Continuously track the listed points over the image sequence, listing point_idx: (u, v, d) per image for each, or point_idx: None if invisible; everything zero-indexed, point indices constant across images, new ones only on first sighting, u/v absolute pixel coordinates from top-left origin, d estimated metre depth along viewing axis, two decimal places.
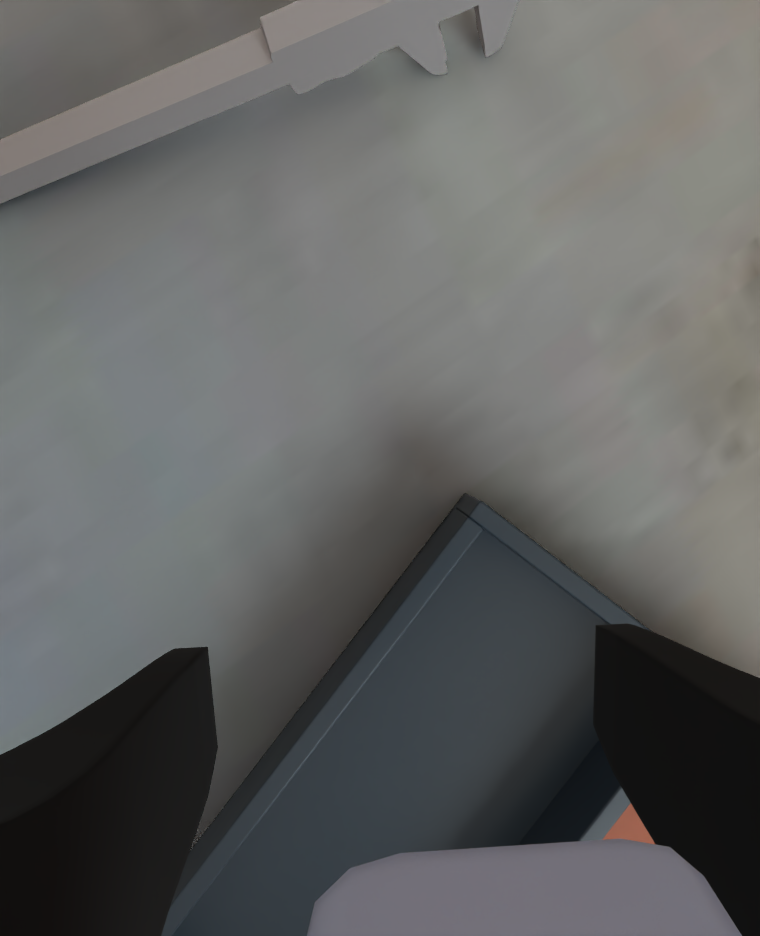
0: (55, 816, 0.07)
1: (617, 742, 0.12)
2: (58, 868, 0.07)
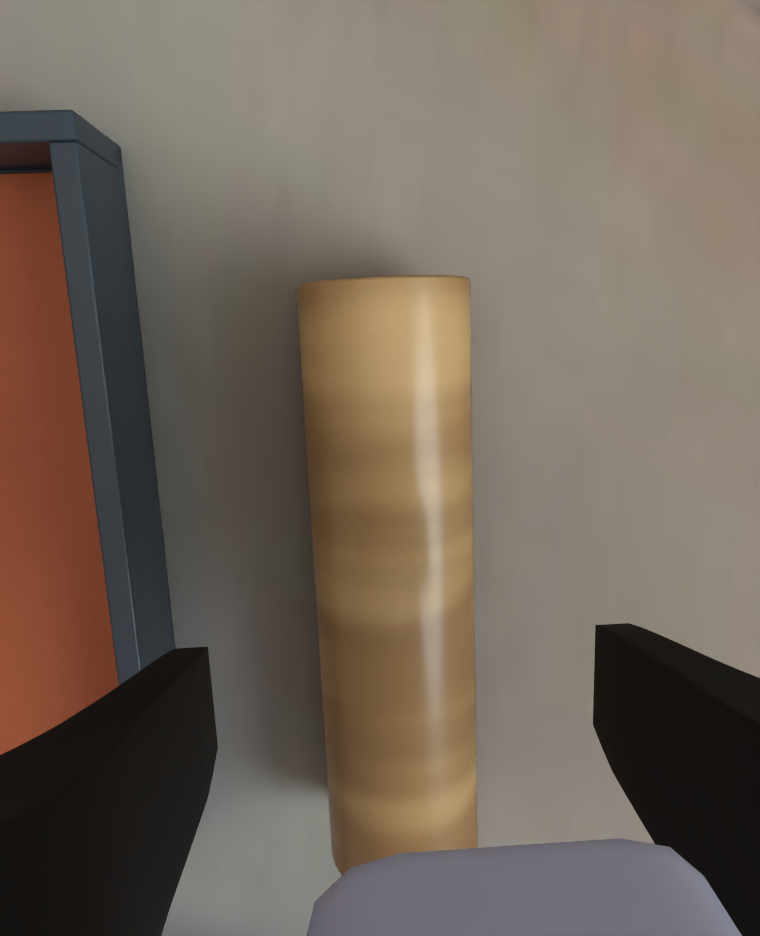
0: (55, 816, 0.07)
1: (617, 742, 0.12)
2: (57, 869, 0.07)
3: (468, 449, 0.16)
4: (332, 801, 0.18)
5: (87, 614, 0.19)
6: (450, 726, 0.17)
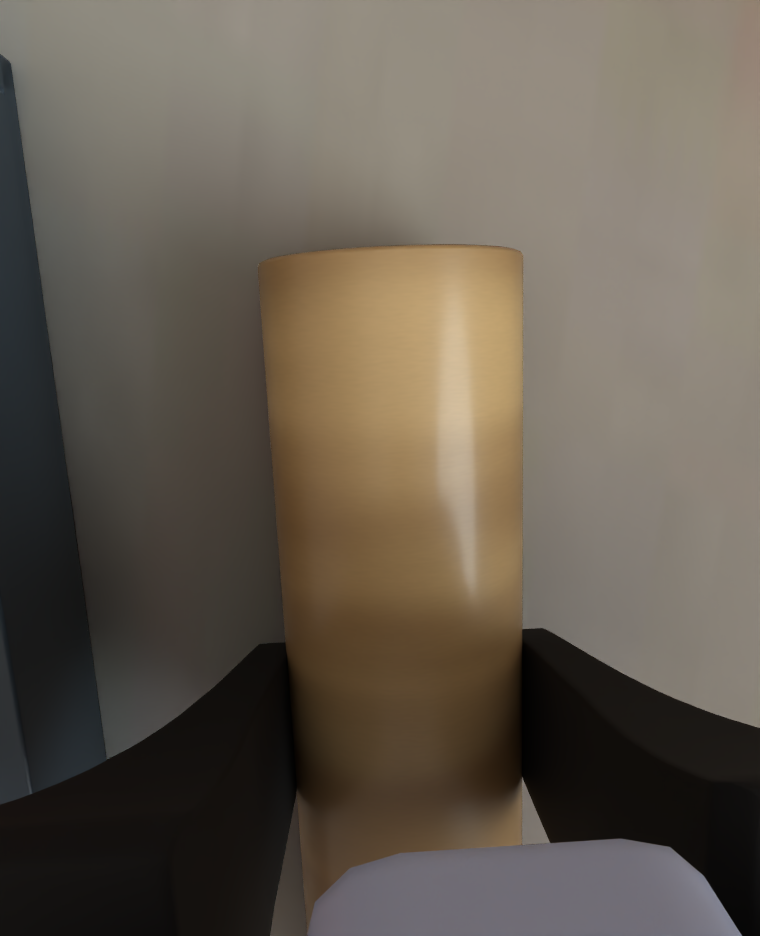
0: (215, 806, 0.07)
1: (525, 748, 0.12)
2: (218, 858, 0.07)
3: (517, 514, 0.10)
4: None
5: None
6: None
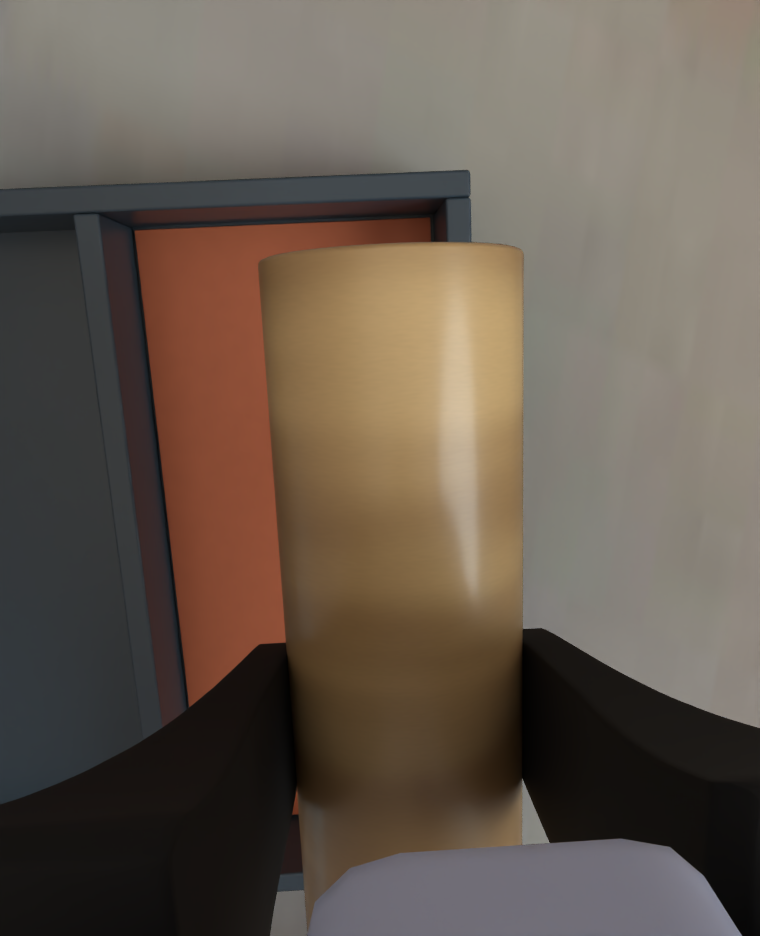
0: (215, 806, 0.07)
1: (524, 748, 0.12)
2: (218, 858, 0.07)
3: (517, 512, 0.10)
4: None
5: None
6: None
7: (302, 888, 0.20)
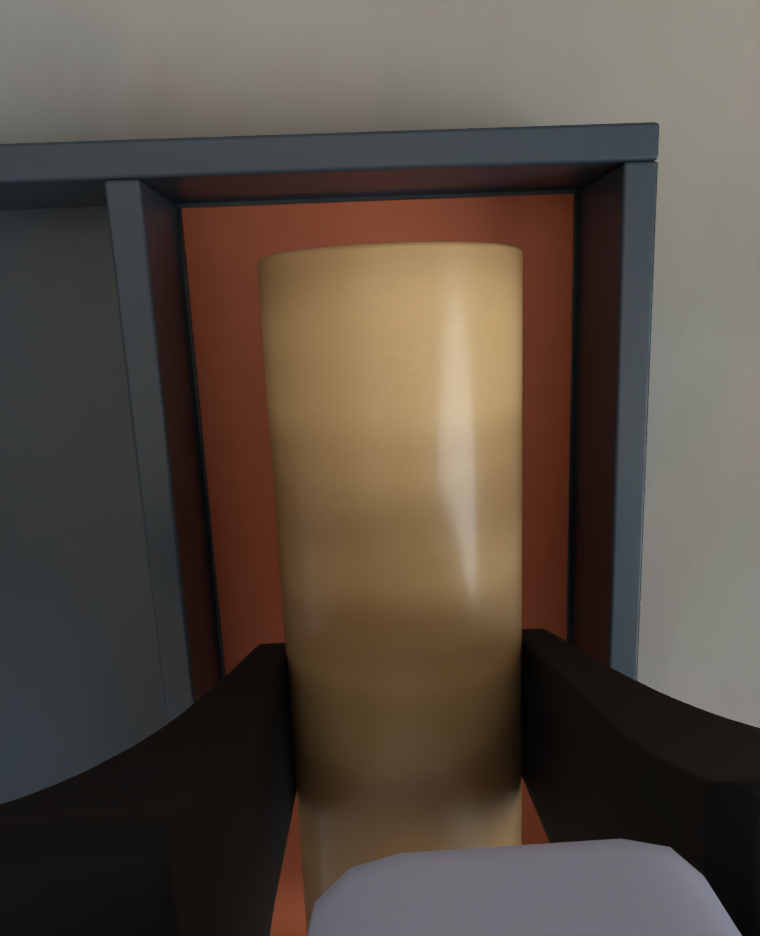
0: (215, 806, 0.07)
1: (524, 748, 0.12)
2: (217, 858, 0.07)
3: (516, 511, 0.10)
4: None
5: None
6: None
7: None
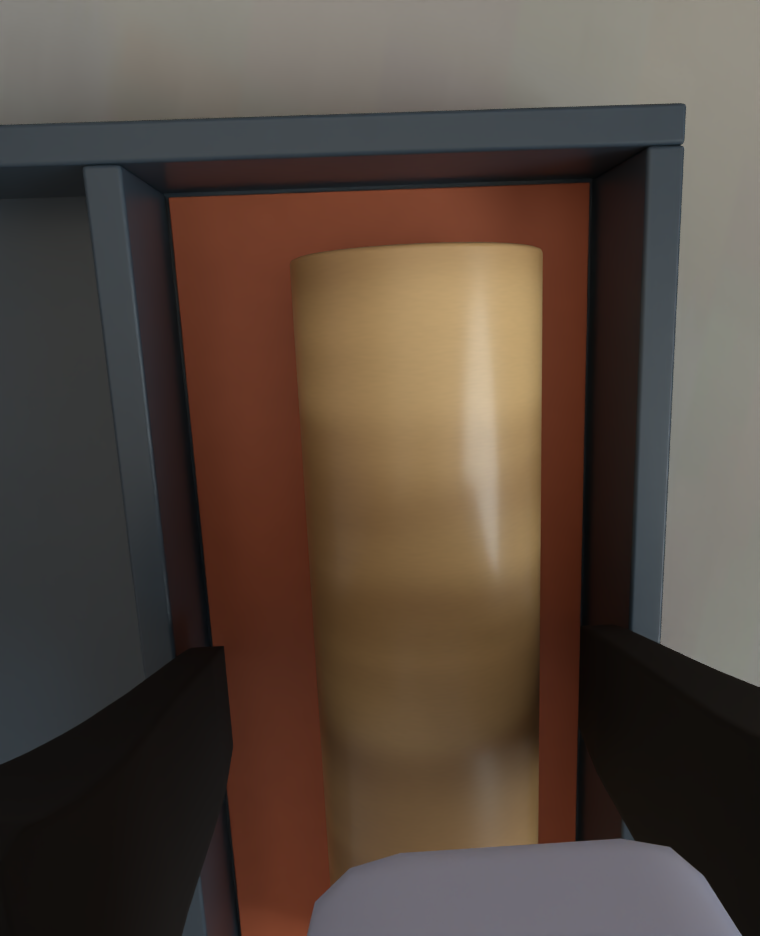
0: (86, 814, 0.07)
1: (600, 743, 0.12)
2: (88, 866, 0.07)
3: (540, 492, 0.11)
4: None
5: None
6: None
7: None
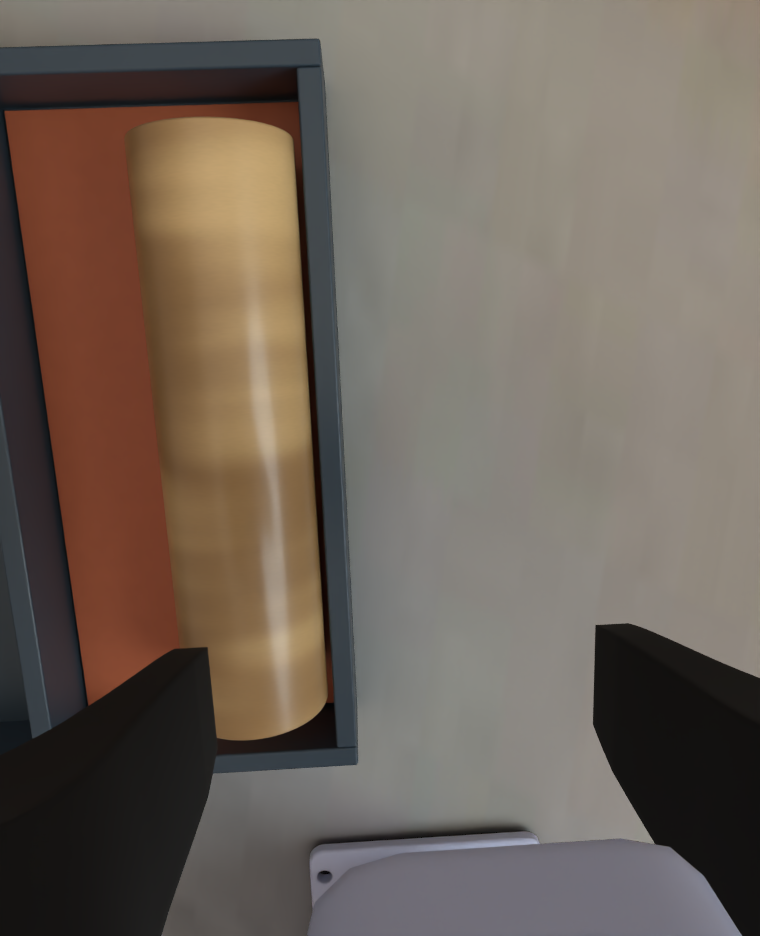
0: (55, 816, 0.07)
1: (617, 742, 0.12)
2: (57, 867, 0.07)
3: None
4: (219, 669, 0.18)
5: None
6: (318, 547, 0.19)
7: None
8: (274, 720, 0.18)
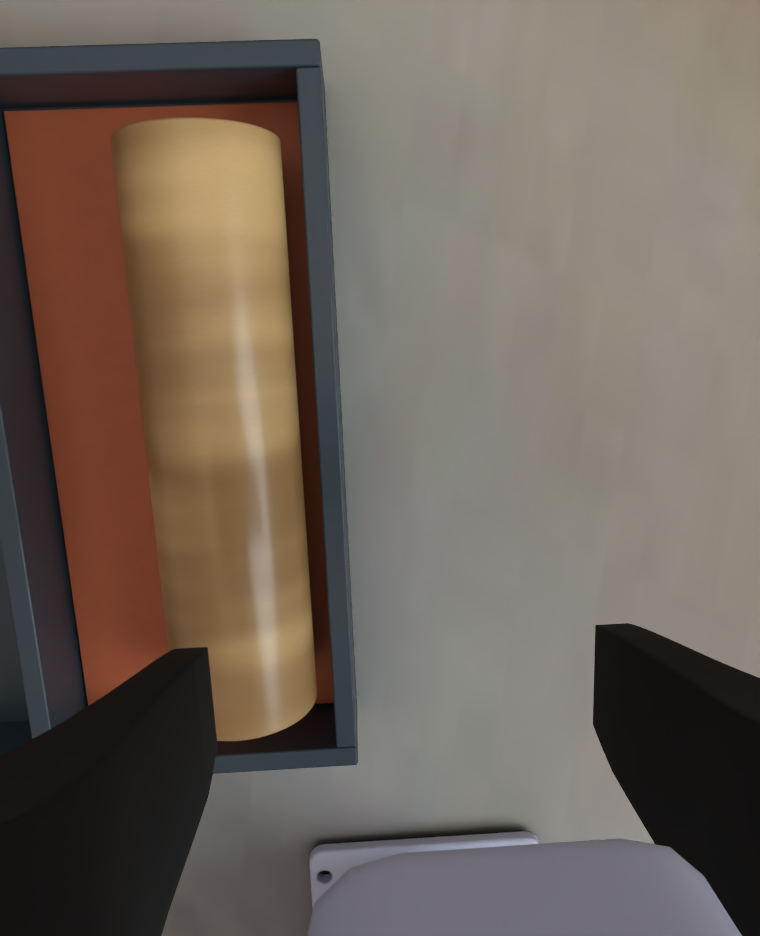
0: (55, 816, 0.07)
1: (616, 742, 0.12)
2: (57, 867, 0.07)
3: None
4: None
5: None
6: (303, 552, 0.19)
7: None
8: (250, 723, 0.18)
